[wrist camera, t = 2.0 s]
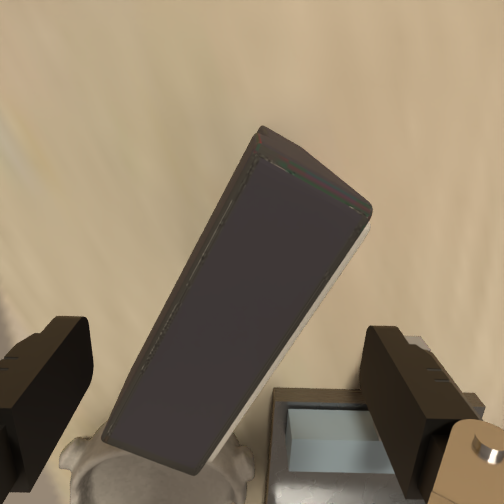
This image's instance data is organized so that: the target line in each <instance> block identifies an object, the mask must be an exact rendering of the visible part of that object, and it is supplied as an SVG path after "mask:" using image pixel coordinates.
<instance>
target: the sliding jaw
mask: <svg viewBox="0 0 504 504" xmlns="http://www.w3.org/2000/svg"><path fill="white" fill-rule="evenodd" d="M404 337H405V338H406V340H407V341H408V343H409V344H416V345H418V346H419V347H420V348H422V349H423V350H424V351H426V352H427V353H429V354H430V355H431V356H432V357H433V358H434V360H435V361H436V362H437V364H438V365H439V366H440V368H441V371H443V372H444V373H445V374H446V376H447V377H448V378H449V382H452V384H453V385H454V386H455V388H456V389H457V390H458V392H459V393H460V394H461V396H462V397H463V398H464V400H465V401H466V402H467V404H468V405H469V406H470V408H471V409H472V410H473V412H474V413H475V414H476V416H477V417H478V418H479V420H481V421H483V420H482V418H481V417H480V416H479V414H478V413H477V412H476V410H475V409H474V408H473V406H472V405H471V404H470V402H469V401H468V400H467V398H466V397H465V396H464V394H463V393H462V391H461V390H460V389H459V387H458V386H457V385H456V383H455V382H454V381H453V379H452V378H451V377H450V375H449V374H448V373H447V371H446V370H445V369H444V367H443V366H442V365H441V363H440V362H439V361H438V359H437V358H436V356H435V355H434V354H433V353H432V352H430V351H431V349H430V348H429V347H428V345H427V344H426V343H425V341H424V340H423V339H422V337H421V336H404ZM285 441H286V450H287V459H288V468H289V471H298V472H343V473H387V474H395V473H394V470H393V468H392V465H391V463H390V460H389V458H388V456H387V453H386V451H385V448H384V446H383V443H382V441H381V438H380V436H379V434H378V431H377V429H376V426H375V424H374V421H373V419H372V416H371V414H370V411H351V410H313V409H288V416H287V427H286V437H285Z"/></svg>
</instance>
